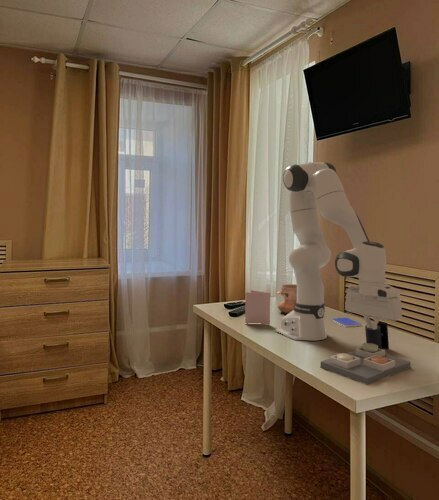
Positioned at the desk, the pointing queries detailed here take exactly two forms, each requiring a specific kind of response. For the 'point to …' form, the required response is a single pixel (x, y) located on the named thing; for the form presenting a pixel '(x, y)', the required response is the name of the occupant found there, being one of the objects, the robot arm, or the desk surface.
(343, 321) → the hard drive
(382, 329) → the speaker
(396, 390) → the desk surface
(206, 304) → the desk surface
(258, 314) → the greeting card
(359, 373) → the button console
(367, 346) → the sage button
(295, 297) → the ceramic jug
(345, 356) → the sand button
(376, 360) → the terracotta button
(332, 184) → the robot arm
